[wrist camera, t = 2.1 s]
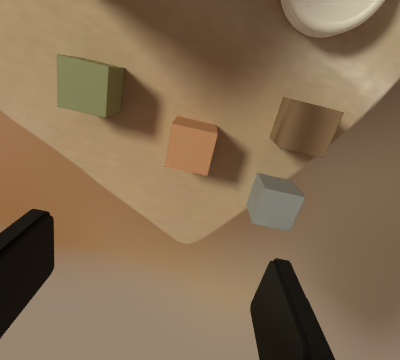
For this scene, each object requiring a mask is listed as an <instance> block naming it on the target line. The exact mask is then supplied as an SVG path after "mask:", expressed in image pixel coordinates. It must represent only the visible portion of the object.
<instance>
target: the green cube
mask: <svg viewBox="0 0 400 360" xmlns="http://www.w3.org/2000/svg"><path fill="white" fill-rule="evenodd" d="M124 69H125V68H122V67H118V66H114V65H109V64H105V63H101V62H97V61H93V60H89V59H85V58H80V57H73V56H66V55H59V54H57V102H58V107H61V108H65V109H69V110H74V111H78V112H83V113H87V114H91V115H96V116H100V117H105V118H106V117H108V116H111V115H113V114H116V113H118V112H120V111H121V103H122V92H123V80H124Z"/></svg>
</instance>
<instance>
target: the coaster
mask: <svg viewBox="0 0 400 360" xmlns="http://www.w3.org/2000/svg"><path fill="white" fill-rule="evenodd" d="M280 1H281V6H282V9H283V12H284V14H285V16H286V18H287V19H288V21H289V22H290V24H291V25H292V26H293V27H294V28H295V29H296V30H298V31H299V32H301V33H302V34H305V35H307V36H310V37H316V38H324V37H330V36H334V35H337V34H340V33H343V32H346V31H349V30H352V29H353V28H355V27H357V26H359V25H360V24H362V23H363V22H365V21H366V20H367V19H368V18H370V17H371V16H372V15H373V14H374V13H375V12H376V11H377V10H378V9H379V8H380V7H381V5H382V4H383V3H384V1H385V0H280Z"/></svg>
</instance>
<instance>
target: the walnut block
mask: <svg viewBox="0 0 400 360" xmlns="http://www.w3.org/2000/svg"><path fill="white" fill-rule="evenodd" d="M343 114H344V112H340V111H336V110H332V109H329V108H325V107H321V106H317V105H313V104H309V103H305V102H301V101H296V100H292V99H288V98H284V97H283V100H282V103H281V106H280V108H279V111H278V114H277V117H276V120H275V123H274V126H273V129H272V132H271V134H270V137H269V138H270V139H271V140H272V141H273V142H274V143H275V144H277V145H278V146H279V147H280V148H282V149H286V150H290V151H295V152H299V153H304V154H308V155H312V156H317V157H321V158H324V156H325V153H326V151H327V149H328V147H329V145H330V142H331V140H332V138H333V136H334V134H335V131H336V129H337V127H338V125H339V123H340V120H341V118H342V116H343Z"/></svg>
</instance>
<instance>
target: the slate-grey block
mask: <svg viewBox="0 0 400 360" xmlns="http://www.w3.org/2000/svg"><path fill="white" fill-rule="evenodd" d="M304 200H305V196H304V195H303V194H302V192H301V191H300V190H299V189H298V187H297V186H296V185H295V184H294V183H293V181H292V180H288V179H282V178H278V177H274V176H269V175H265V174H260V173H257V175H256V178H255V181H254V184H253V187H252V189H251V192H250V195H249V198H248V201H247V204H246V205H247V208H248V211H249V215H250V218H251V221H252V223H253V224H257V225H262V226H267V227H271V228H276V229H281V230H286V231H290V230H291V228H292V226H293V224H294V222H295V220H296V217H297V215H298V213H299V211H300V209H301V206H302V204H303V202H304Z"/></svg>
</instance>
